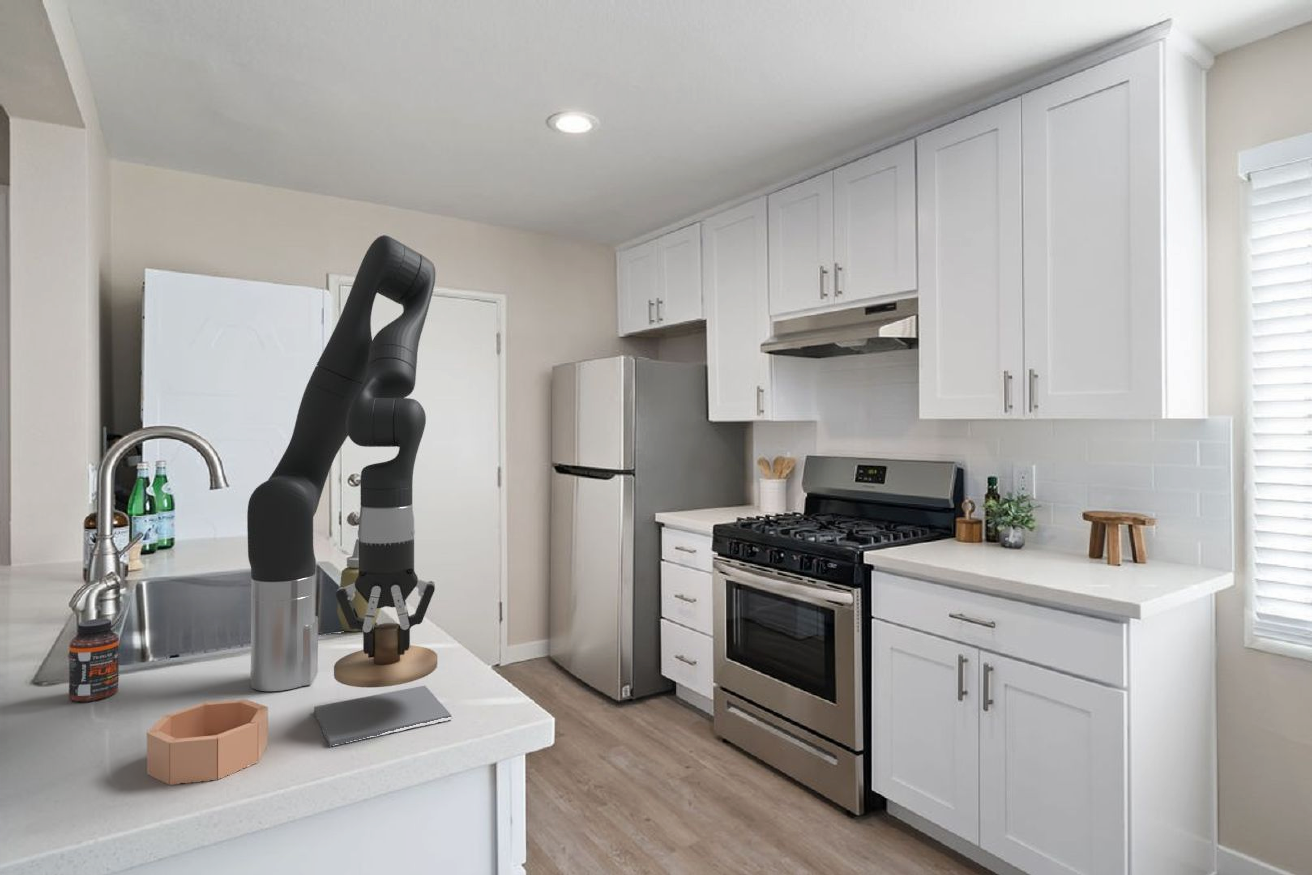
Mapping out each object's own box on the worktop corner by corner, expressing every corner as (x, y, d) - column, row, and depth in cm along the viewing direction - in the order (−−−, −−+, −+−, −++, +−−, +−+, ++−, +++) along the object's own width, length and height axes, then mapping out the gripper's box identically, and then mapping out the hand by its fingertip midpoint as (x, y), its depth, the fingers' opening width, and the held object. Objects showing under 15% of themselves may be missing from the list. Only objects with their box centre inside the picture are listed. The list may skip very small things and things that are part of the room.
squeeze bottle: (353, 636, 139) (354, 544, 139) (328, 629, 144) (328, 540, 143) (388, 626, 146) (389, 538, 146) (363, 619, 151) (364, 534, 150)
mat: (425, 690, 113) (425, 685, 113) (451, 720, 103) (451, 714, 103) (314, 712, 104) (314, 706, 104) (330, 747, 94) (330, 741, 94)
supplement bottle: (91, 705, 105) (91, 628, 105) (58, 701, 106) (57, 625, 106) (128, 690, 111) (128, 617, 111) (97, 686, 112) (96, 614, 112)
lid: (437, 649, 113) (437, 610, 112) (437, 681, 99) (437, 637, 99) (340, 657, 108) (340, 616, 108) (327, 692, 95) (327, 645, 95)
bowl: (274, 733, 97) (274, 696, 97) (250, 776, 86) (250, 735, 86) (173, 742, 94) (173, 704, 94) (134, 788, 83) (134, 745, 82)
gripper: (438, 530, 109) (437, 642, 110) (336, 533, 105) (336, 650, 105) (438, 539, 102) (437, 658, 102) (329, 543, 98) (329, 668, 98)
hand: (386, 653), depth 104 cm, fingers closed on lid, 3 cm apart
